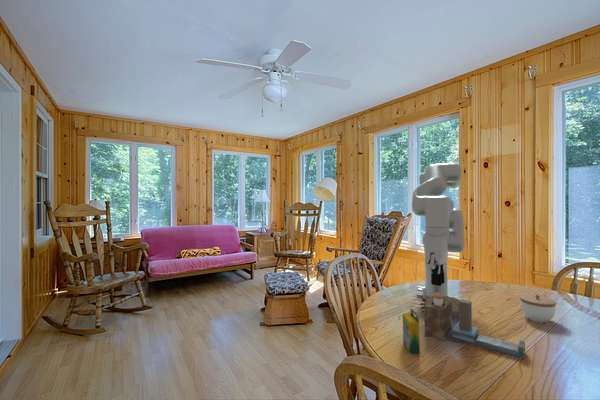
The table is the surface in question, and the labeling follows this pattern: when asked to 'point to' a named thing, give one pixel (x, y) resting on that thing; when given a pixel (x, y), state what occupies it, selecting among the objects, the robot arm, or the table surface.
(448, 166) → the robot arm
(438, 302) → the orange and grey cylinder
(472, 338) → the carriage
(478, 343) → the rail
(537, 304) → the lidded jar
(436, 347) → the table surface
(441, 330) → the end cabinet
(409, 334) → the crayon box
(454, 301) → the nautilus
